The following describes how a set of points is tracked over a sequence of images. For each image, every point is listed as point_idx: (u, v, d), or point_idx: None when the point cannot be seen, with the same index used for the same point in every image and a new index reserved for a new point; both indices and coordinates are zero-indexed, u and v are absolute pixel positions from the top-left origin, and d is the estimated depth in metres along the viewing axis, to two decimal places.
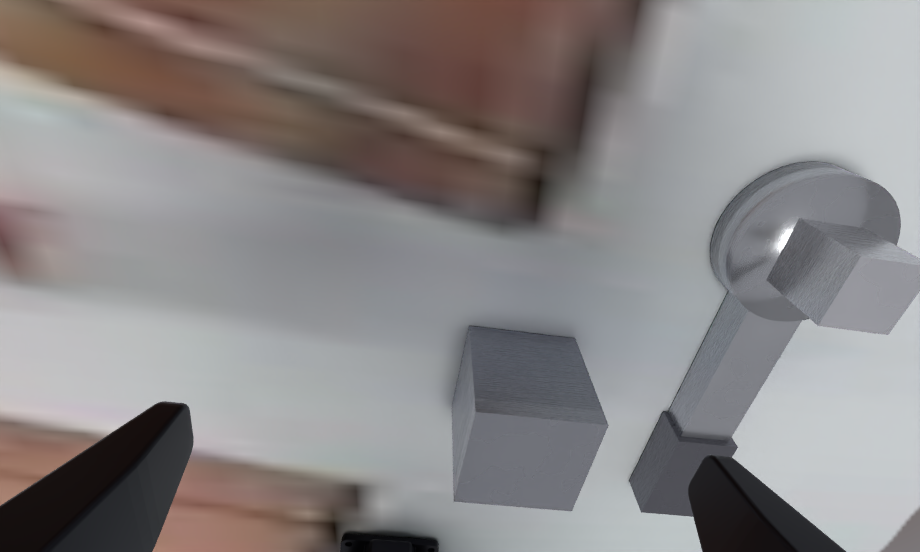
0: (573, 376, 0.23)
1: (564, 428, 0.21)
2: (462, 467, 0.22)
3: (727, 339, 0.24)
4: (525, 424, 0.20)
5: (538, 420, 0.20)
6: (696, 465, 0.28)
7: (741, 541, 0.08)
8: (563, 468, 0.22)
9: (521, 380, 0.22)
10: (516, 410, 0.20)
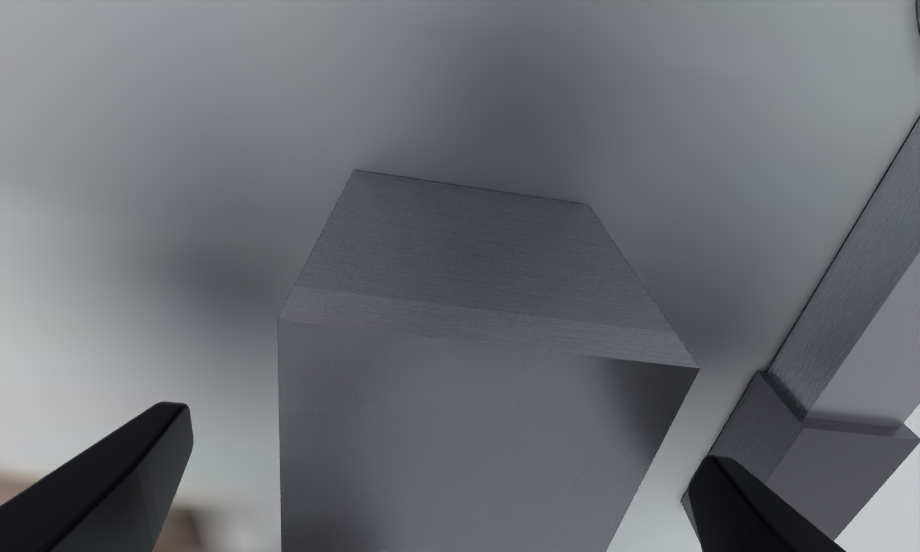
0: (588, 260, 0.09)
1: (565, 376, 0.07)
2: (282, 492, 0.08)
3: None
4: (444, 364, 0.07)
5: (484, 351, 0.07)
6: (829, 477, 0.14)
7: (741, 541, 0.08)
8: (562, 494, 0.08)
9: (452, 259, 0.08)
10: (417, 320, 0.07)
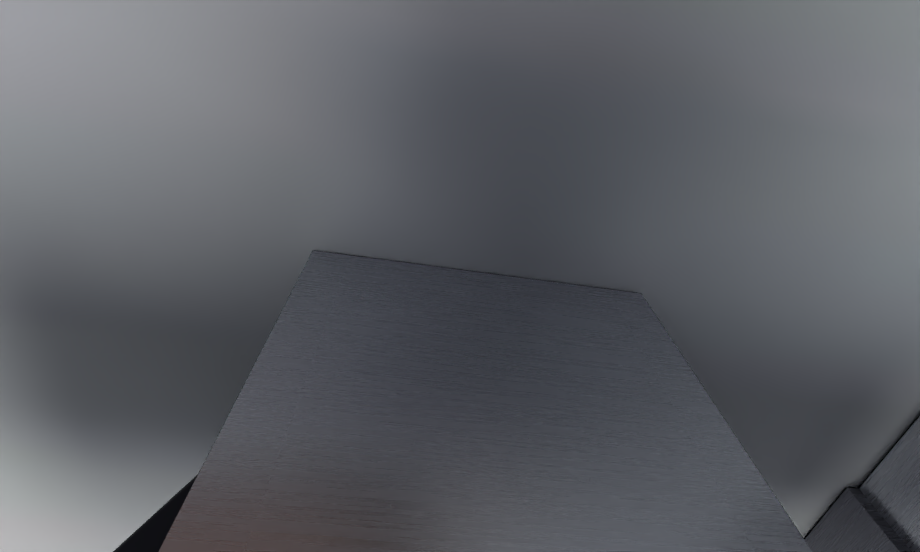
0: (666, 422, 0.06)
1: None
2: None
3: None
4: None
5: None
6: None
7: None
8: None
9: (451, 449, 0.05)
10: None
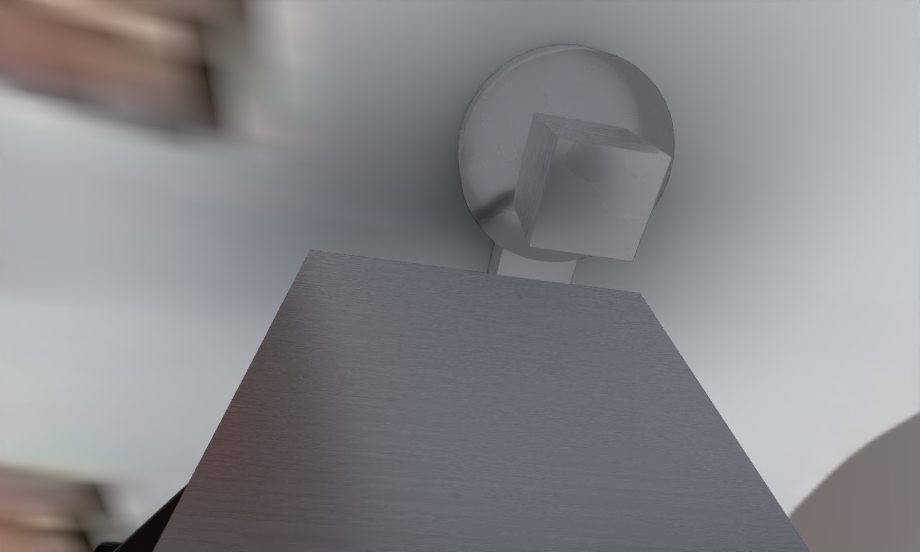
0: (664, 422, 0.06)
1: None
2: None
3: None
4: None
5: None
6: None
7: None
8: None
9: (448, 450, 0.05)
10: None
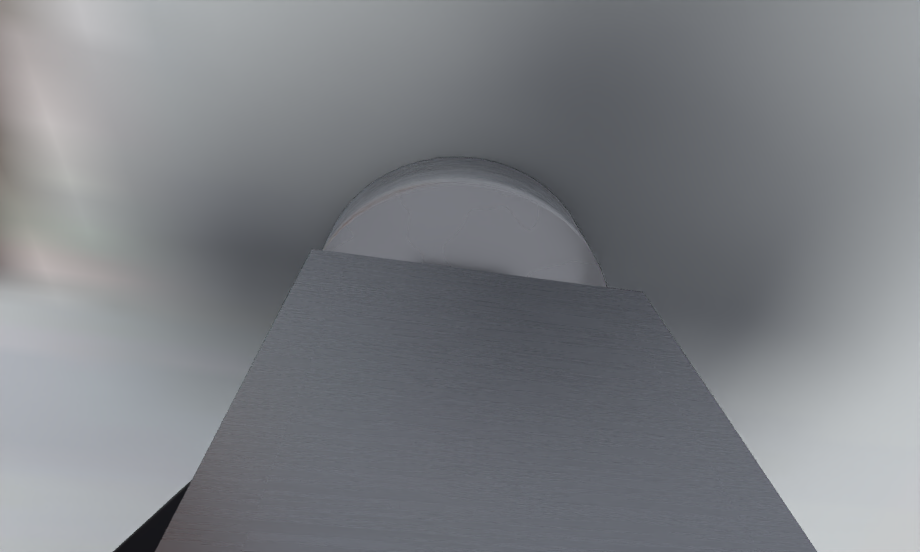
0: (669, 421, 0.06)
1: None
2: None
3: None
4: None
5: None
6: None
7: None
8: None
9: (452, 449, 0.05)
10: None
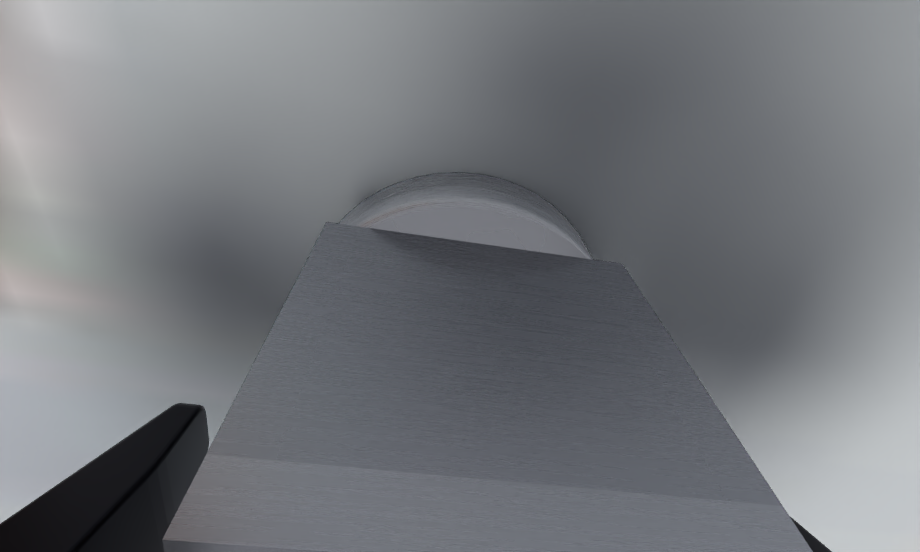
0: (636, 362, 0.07)
1: None
2: None
3: None
4: None
5: None
6: None
7: None
8: None
9: (451, 376, 0.06)
10: (395, 519, 0.04)
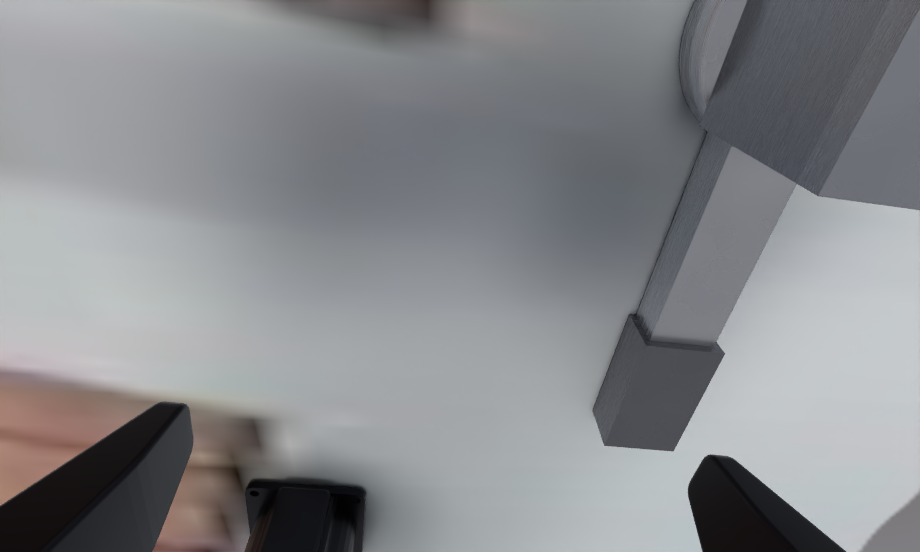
0: None
1: None
2: (876, 87, 0.10)
3: (705, 194, 0.18)
4: None
5: None
6: (671, 380, 0.21)
7: (741, 541, 0.08)
8: None
9: None
10: None
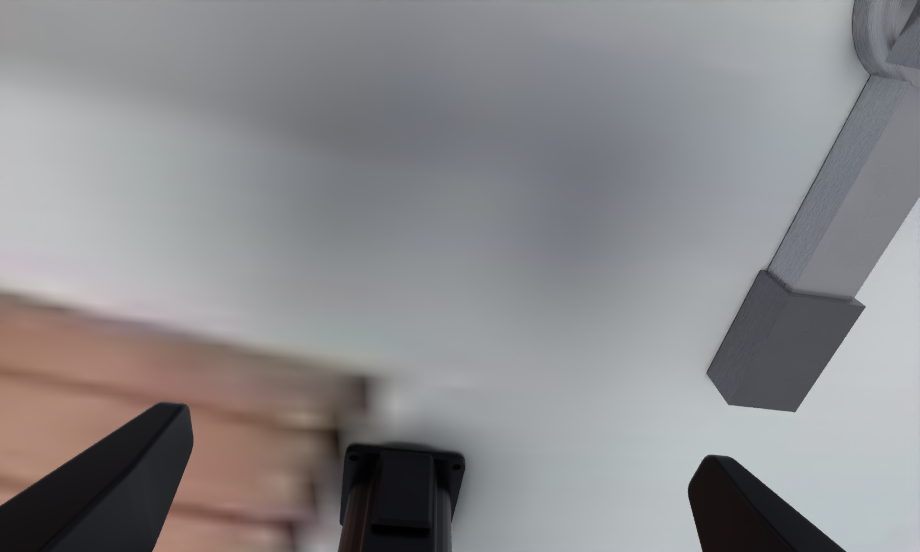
0: None
1: None
2: None
3: (871, 137, 0.18)
4: None
5: None
6: (808, 334, 0.21)
7: (741, 541, 0.08)
8: None
9: None
10: None
